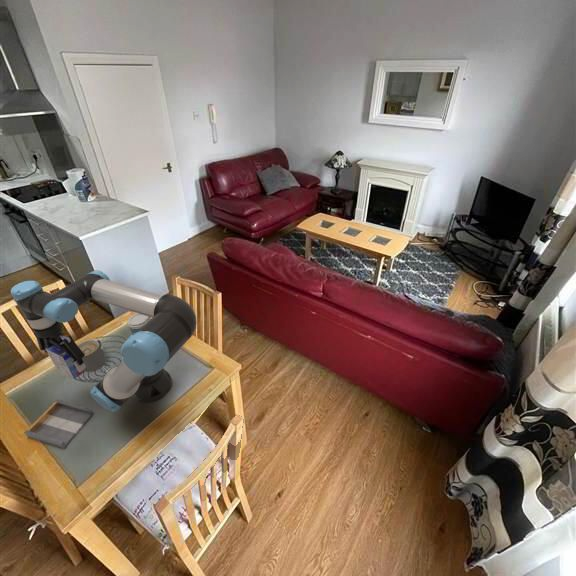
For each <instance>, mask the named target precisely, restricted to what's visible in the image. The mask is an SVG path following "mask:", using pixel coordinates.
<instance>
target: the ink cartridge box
mask: <svg viewBox="0 0 576 576" xmlns="http://www.w3.org/2000/svg"><path fill="white" fill-rule="evenodd" d="M62 343H63V342H62ZM62 343H60V345H61V344H62ZM46 350H47V352H48V353H47V355H48V354H49V355H48V357H49V356H50V357H49V358H50V360H51V359H52V360H51V361H52V363H53V365H54V366H55V368H56V370H57V371H58V372H59V373H62V374H63V375H65V376H68V378H71V379H73V380H76V379H77V378H78V377H79V376H81V375H83V374H84V373H86V371H87V369H86V368H85V369H84V370H83V371H81V372H78V370H77V368H76V366H75V364H74V363H73V362H72V360H73V358H71V357H70V356H69V354H68V353H66V352H65V351H64V350H63V349H62V348H58V347H57V346H56V345H55V344H53V345H51V346H50V347H49V348H46Z"/></svg>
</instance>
